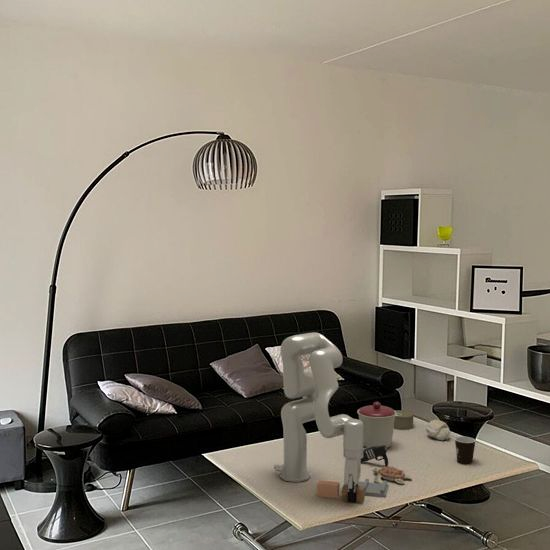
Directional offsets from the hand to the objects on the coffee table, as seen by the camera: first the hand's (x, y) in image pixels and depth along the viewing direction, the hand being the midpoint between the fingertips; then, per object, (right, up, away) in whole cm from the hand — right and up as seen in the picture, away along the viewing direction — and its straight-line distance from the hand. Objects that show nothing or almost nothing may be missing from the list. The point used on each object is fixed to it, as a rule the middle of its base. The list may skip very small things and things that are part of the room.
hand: (353, 499), depth 270 cm
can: (+35, +8, +92) cm, 98 cm away
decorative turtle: (+18, +1, +22) cm, 28 cm away
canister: (+18, +5, +61) cm, 64 cm away
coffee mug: (+54, +3, +42) cm, 68 cm away
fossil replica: (+49, +6, +73) cm, 88 cm away
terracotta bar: (-9, 0, +5) cm, 10 cm away
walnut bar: (0, 0, 0) cm, 0 cm away
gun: (+12, +3, +38) cm, 40 cm away
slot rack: (+6, +1, +10) cm, 11 cm away
